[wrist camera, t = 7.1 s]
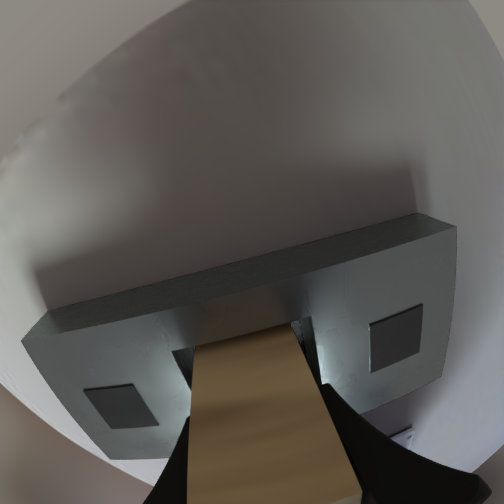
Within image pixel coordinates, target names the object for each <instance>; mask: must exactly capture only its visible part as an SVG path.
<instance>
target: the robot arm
mask: <svg viewBox="0 0 504 504" xmlns="http://www.w3.org/2000/svg"><path fill="white" fill-rule="evenodd" d="M317 387H318V389H319V391H320V394H321V396H322V398H323V401H324V403H325V405H326V408H327V410H328V412H329V414H330V417H331V419H332V421H333V424H334V426H335V428H336V431H337V433H338V435H339V438H340V440H341V442H342V445H343V447H344V450H345V452H346V454H347V457H348V459H349V461H350V464H351V466H352V468H353V471H354V473H355V475H356V478H357V480H358V482H359V485H360V487H361V490H362V498H361V504H482V503H483V502H484V501H485V500H486V499H487V498H488V497H489V496H490V495H491V493H492V491H491V489H490V488H489V486H488V485H487V484H486V483H485V482H484V480H483V479H481V477H479V476H478V475H476V474H472V473H468V472H464V471H460V470H457V469H453V468H450V467H447V466H444V465H442V464H439V463H436V462H434V461H432V460H429V459H427V458H425V457H423V456H420V455H418V454H416V453H414V452H412V451H410V450H409V449H410V446H411V443H412V440H413V436H414V433H415V430H414V429H413V428H410V429H408V430H406V431H404V432H402V433H399V434H397V435H395V436H393V437H391V438H389V437H387V436H386V435H384V434H383V433H382V432H380V431H379V430H378V429H376V428H375V427H374V426H372V425H371V424H370V423H369V422H367V421H366V420H365V419H364V418H363V417H362V416H361V415H359V414H358V413H357V412H356V411H355V410H354V409H353V408H352V407H351V406H350V405H349V404H348V403H347V402H346V401H345V400H344V399H343V398H342V397H341V396H340V395H339V394H338V393H337V392H336V390H335V389H334V388H333V387H332V385H331V384H329V383H325V384H322V385H319V386H317ZM189 423H190V416H188V417H187V418H186V421H185V423H184V426H183V428H182V431H181V433H180V436H179V438H178V440H177V443H176V445H175V447H174V450H173V452H172V454H171V456H170V458H169V460H168V462H167V464H166V466H165V468H164V470H163V472H162V474H161V476H160V477H159V479H158V481H157V483H156V484H155V486H154V488H153V490H152V491H151V492H150V494H149V495H148V497H147V498H146V500H145V501H144V503H143V504H187V473H188V444H189ZM503 504H504V503H503Z"/></svg>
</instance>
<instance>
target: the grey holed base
mask: <svg viewBox="0 0 504 504" xmlns="http://www.w3.org/2000/svg"><path fill="white" fill-rule="evenodd" d="M456 254H457V226H454V225H451V224H449V223H446V222H443V221H440V220H438V219H435V218H432V217H429V216H426V215H423V214H420V213H416V214H413V215H409V216H405V217H402V218H398V219H394V220H391V221H387V222H383V223H380V224H376V225H372V226H369V227H365V228H361V229H358V230H354V231H350V232H347V233H343V234H339V235H336V236H332V237H328V238H324V239H321V240H317V241H313V242H310V243H306V244H302V245H298V246H295V247H291V248H287V249H284V250H280V251H276V252H272V253H269V254H265V255H261V256H257V257H254V258H250V259H246V260H242V261H239V262H235V263H231V264H227V265H223V266H220V267H216V268H212V269H208V270H205V271H201V272H197V273H193V274H189V275H186V276H182V277H178V278H174V279H170V280H166V281H163V282H159V283H155V284H151V285H147V286H143V287H140V288H136V289H132V290H128V291H124V292H120V293H116V294H113V295H109V296H105V297H101V298H97V299H93V300H89V301H85V302H81V303H78V304H74V305H70V306H66V307H62V308H58V309H54V310H50V311H47V312H46V313H45V314H44V315H43V316H42V318H41V319H40V320H39V321H38V322H37V323H36V324H35V325H34V326H33V327H32V329H31V330H30V331H29V332H28V333H27V334H26V335H25V336H24V338H23V339H22V340H21V342H22V344H23V346H24V347H25V349H26V351H27V352H28V354H29V356H30V357H31V359H32V361H33V362H34V364H35V365H36V367H37V369H38V370H39V372H40V373H41V375H42V376H43V378H44V379H45V381H46V382H47V384H48V385H49V387H50V388H51V389H52V391H53V392H54V394H55V395H56V396H57V398H58V399H59V400H60V402H61V403H62V404H63V406H64V407H65V408H66V410H67V411H68V412H69V413H70V415H71V416H72V417H73V418H74V420H75V421H76V422H77V423H78V424H79V426H80V427H81V428H82V429H83V430H84V432H85V433H86V434H87V435H88V436H89V437H90V438H91V440H92V441H93V442H94V443H95V444H96V445H97V446H98V447H99V448H100V449H101V450H102V451H103V452H104V453H105V455H106V456H107V457H108V458H109V459H113V460H133V459H160V458H170V456H171V454H172V452H173V450H174V447H175V445H176V443H177V440H178V438H179V436H180V433H181V431H182V428H183V426H184V423H185V421H186V418H187V417H188V416H190V406H191V390H192V376H193V363H194V349H193V346H197V345H202V344H206V343H211V342H215V341H219V340H223V339H228V338H232V337H236V336H240V335H244V334H248V333H251V332H255V331H259V330H263V329H266V328H270V327H274V326H277V325H281V324H285V323H288V322H292V321H295V320H298V319H300V322H301V328H302V333H303V338H304V344H305V349H306V355H307V360H308V366H309V368H310V370H311V373H312V375H313V377H314V380H315V382H316V384H317V386H319V385H322V384H325V383H329V384H331V385H332V387H333V388H334V389H335V390H336V392H337V393H338V394H339V395H340V396H341V397H342V398H343V399H344V400H345V401H346V402H347V403H348V404H349V405H350V406H351V407H352V408H353V409H354V410H355V411H356V412H357V413H358V414H359V415H360V414H362V413H365V412H367V411H370V410H372V409H375V408H377V407H379V406H382V405H384V404H386V403H389V402H391V401H393V400H395V399H398V398H400V397H402V396H404V395H406V394H408V393H410V392H412V391H414V390H416V389H418V388H420V387H422V386H424V385H426V384H428V383H430V382H432V381H434V380H436V379H437V378H439V377H441V375H442V371H443V366H444V361H445V356H446V351H447V345H448V339H449V333H450V326H451V319H452V310H453V301H454V290H455V277H456Z"/></svg>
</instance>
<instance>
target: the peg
mask: <svg viewBox="0 0 504 504" xmlns="http://www.w3.org/2000/svg"><path fill="white" fill-rule="evenodd" d="M361 498H362V490H361V487H360V485H359V482H358V480H357V478H356V475H355V473H354V471H353V468H352V466H351V464H350V461H349V459H348V457H347V454H346V452H345V450H344V447H343V445H342V442H341V440H340V438H339V435H338V433H337V431H336V428H335V426H334V424H333V421H332V419H331V417H330V414H329V412H328V410H327V408H326V405H325V403H324V401H323V398H322V396H321V394H320V391H319V389H318V387H317V384H316V382H315V380H314V377H313V375H312V373H311V370H310V368H309V366H308V364H307V361H306V359H305V357H304V354H303V352H302V350H301V347H300V345H299V343H298V341H297V338H296V336H295V334H294V331H293V329H292V327H291V324H290V322H288V323H285V324H281V325H277V326H274V327H270V328H266V329H263V330H259V331H255V332H251V333H248V334H244V335H240V336H236V337H232V338H228V339H223V340H219V341H215V342H211V343H206V344H202V345H197V346H195V351H194V363H193V376H192V390H191V406H190V423H189V444H188V473H187V504H361Z"/></svg>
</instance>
